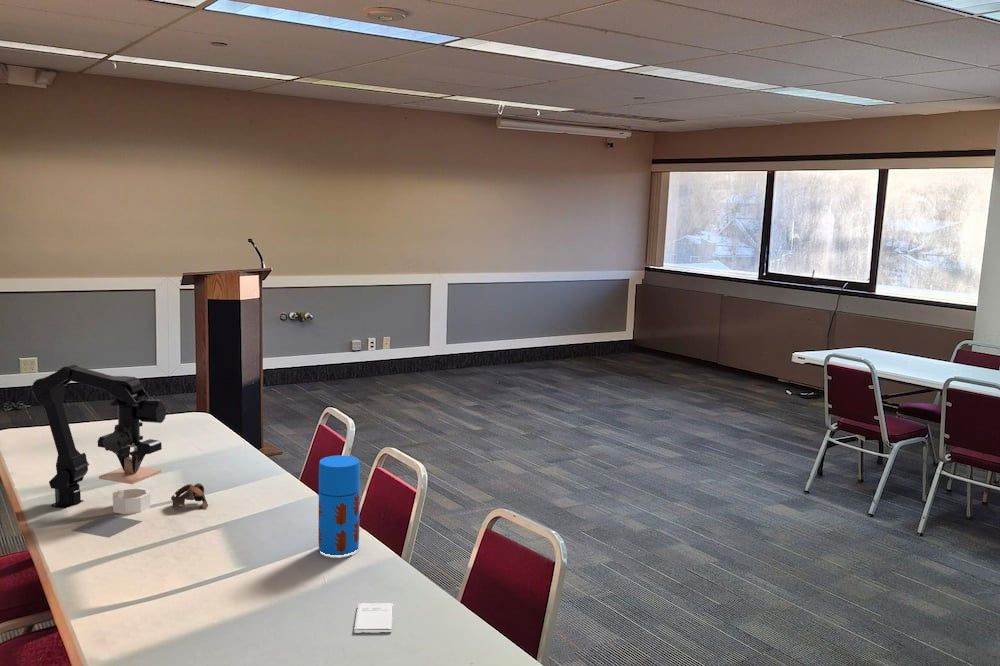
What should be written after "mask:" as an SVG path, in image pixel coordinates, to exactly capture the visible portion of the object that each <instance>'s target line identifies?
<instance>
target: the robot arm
mask: <svg viewBox="0 0 1000 666" xmlns="http://www.w3.org/2000/svg"><path fill="white" fill-rule="evenodd" d="M71 382H74V383H78V384H82V385H85V386H89V387H92V388H96V389H100V390H102V391H103V390H104V391H105V392H107V394H109V395H110V396H111V397H114V398H115V399H114V400H113V401H112V402H110V404H109V405H110V406H112V407H113V406H115V407H117V424H115V425H114V431H113V432H111V433H108V434H104V435H102V436H100V437H99V438H98V439H97V447H98V448H102V449H103V448H104V449H105V451H106V452H108V451H109V452H112V453H114V455H116V456H117V459H118V461H119V464H120V465H121V468H123V471H124V458H126V457H132V464H133V472H134V473H136V472H137V471H138V469H139V467H141V464H142V462H143V460H144V458H145V456H147V455H151V454H153V453H156V452H158V451H159V452H160V451H161V450H162V449H163V448H162V441H160V440H159V439H152V438H151V439H150V438H149V439H145V440H144V436H143V435H141V432H140V431H141V430H140V427H143V423H156V424H162V423H163V422H164V421H165V419H166V417H167V409H166V406H165V405H164V403H163V400H162V399H159V398H157V399H151V396H150V395H149V394H148V392H147V391H146V390H145V389H144V387H143V385H142V383H141V381H140V379H139V378H137V377H135V376H130V375H129V376H127V375H126V376H125V375H115V376H114V375H110V374H106V373H104V372H103V373H102V372H99V371H96V370H91V369H88V368H84V367H81V366H78V365H76V364H69V365H66V366H63V367H60V369H58V370H57V371H56V372H54V373H51V374H50V375H48V376H45V377H42V378H38V379H36V380H35V381H33V383H32V385H31V391H32V393H33V396H34V398H35V400H36V402H37V403H38V404H40V406H41V407H42V408H43V409H44V411H45V414H46V418H47V421H48V425H49V427H50V428H49V429H50V432H51V435H52V439H53V442H54V445H55V449H56V452H57V458H56V463H55V469H56V474H55V475H54V476H53V477H52V478H51V479H50V480H49V481H48V483H49V485H50V486H49V487H50V488H51V489H52V490H54V496H55V497H54V498H55V499H54V500H55V502H53V503H51V505H52V506H51V507H55V506H58V507H57V508H62V509H67V508H71V507H73V506H76V505H78V504H81V503H83V502H85V500H84V499H82V497H81V489H80V484H79V483H80V482H82V481H83V480H84V477H85V476H86V475H87V474H88V471H89V467H88V466H90V464H89V462H88V459H87V454H86V453H85V452H82V453H80V452H79V451H78V449H76V446H75V441H74V438H73V435H72V431H71V427H70V425H69V421H68V417H67V414H66V410H65V406H64V399H65V395H66V390H65V386H66V385H68V384H69V383H71ZM142 440H143V441H142ZM131 448H133V450H132V451H131Z"/></svg>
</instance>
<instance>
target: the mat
mask: <svg viewBox="0 0 1000 666" xmlns="http://www.w3.org/2000/svg"><path fill="white" fill-rule="evenodd" d="M142 522H143V520H139V519H133V518H126V517H121V516H115V515H111V514H110V515H109V514H104V515H102V516H100V517H97V518H95V519H93V520H91V521H89V522H86V523H84V524H82V525H80V526H78V527H76V528H73V529H71V531H72V532H78V533H83V534H89V535H93V536H98V537H99V536H100V537H104V538H111V537H114V536H115V535H118V534H120V533H121V532H123V531H126V530H128V529H130V528H133V527H134V526H136V525H138V524H141V523H142Z"/></svg>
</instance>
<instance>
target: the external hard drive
mask: <svg viewBox="0 0 1000 666" xmlns="http://www.w3.org/2000/svg"><path fill="white" fill-rule="evenodd" d="M392 606H393V607H394V603H392V602H376V603H375V602H360V603H358V604H357V608H358V609H357V610H356V614H355V621H354V626H355V627H353V631H354V630H391V628H392V629H393V627H392V626H393V617H392Z"/></svg>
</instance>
